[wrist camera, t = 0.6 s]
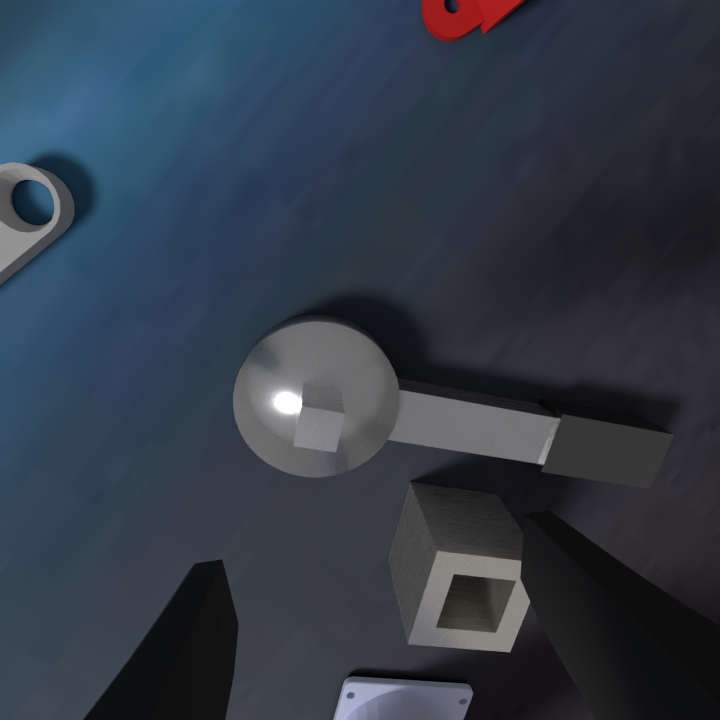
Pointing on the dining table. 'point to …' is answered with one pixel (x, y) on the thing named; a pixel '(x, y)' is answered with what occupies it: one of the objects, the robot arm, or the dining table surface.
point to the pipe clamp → (465, 16)
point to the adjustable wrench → (20, 239)
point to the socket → (458, 569)
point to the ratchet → (414, 413)
